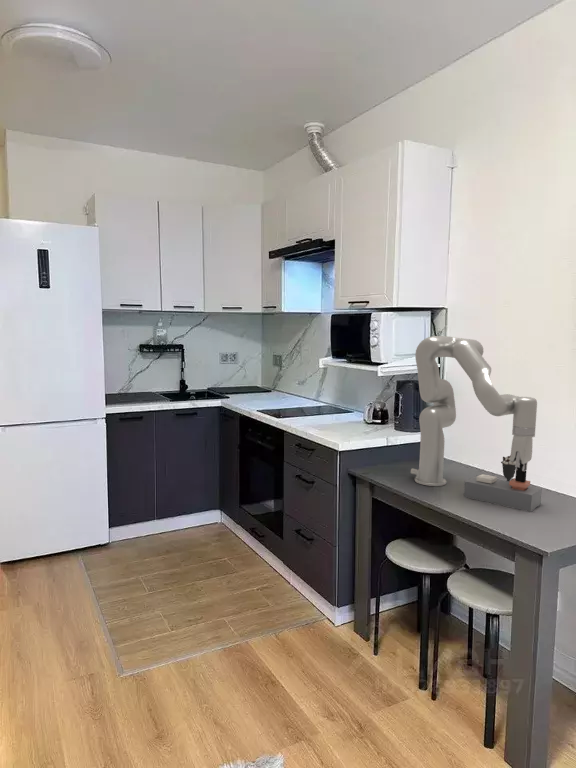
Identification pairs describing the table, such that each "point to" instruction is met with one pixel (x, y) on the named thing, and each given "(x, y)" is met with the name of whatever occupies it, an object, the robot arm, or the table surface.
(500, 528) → the table surface
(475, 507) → the table surface
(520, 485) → the pink block
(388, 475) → the table surface
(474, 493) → the block
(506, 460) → the sundae
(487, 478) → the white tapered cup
